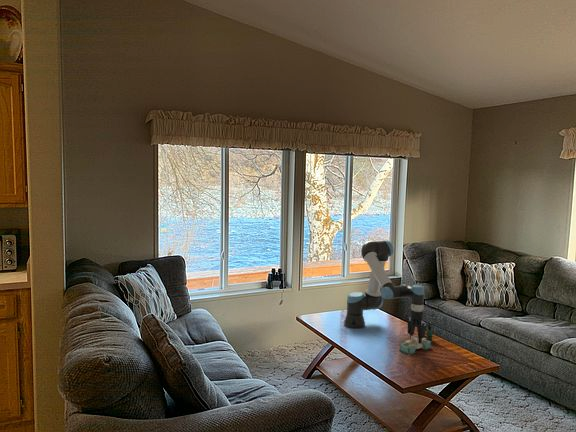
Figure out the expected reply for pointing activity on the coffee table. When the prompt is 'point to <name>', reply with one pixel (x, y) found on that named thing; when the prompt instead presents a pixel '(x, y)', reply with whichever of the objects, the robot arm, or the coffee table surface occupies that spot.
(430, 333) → the binoculars
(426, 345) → the cap
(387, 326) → the coffee table surface
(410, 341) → the beige long bar
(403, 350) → the cap
